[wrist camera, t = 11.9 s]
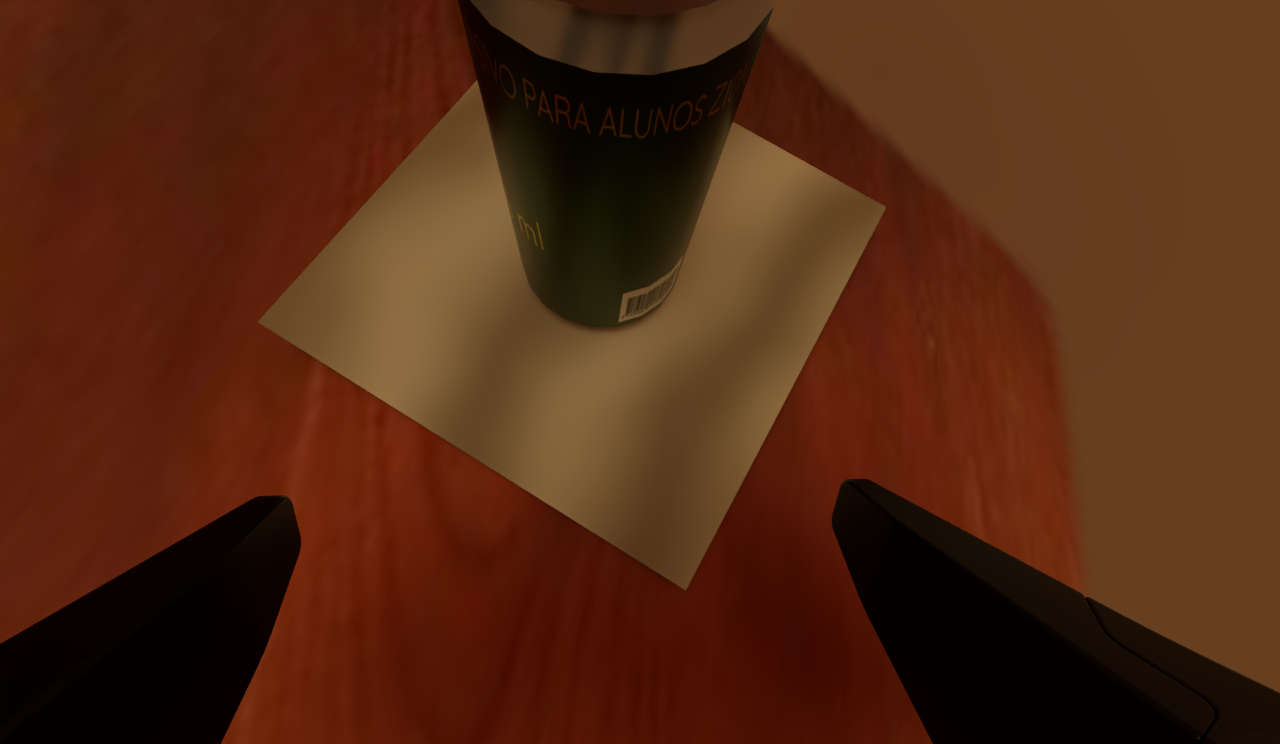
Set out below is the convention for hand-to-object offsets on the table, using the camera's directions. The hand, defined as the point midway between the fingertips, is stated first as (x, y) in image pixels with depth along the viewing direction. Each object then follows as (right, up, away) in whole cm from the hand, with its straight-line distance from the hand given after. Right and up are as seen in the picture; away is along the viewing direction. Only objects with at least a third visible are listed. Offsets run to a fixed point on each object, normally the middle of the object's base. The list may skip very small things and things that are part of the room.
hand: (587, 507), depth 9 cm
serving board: (-1, +6, +12) cm, 13 cm away
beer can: (-1, +6, +10) cm, 12 cm away
